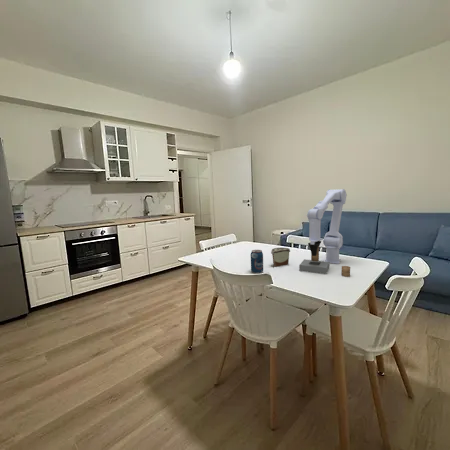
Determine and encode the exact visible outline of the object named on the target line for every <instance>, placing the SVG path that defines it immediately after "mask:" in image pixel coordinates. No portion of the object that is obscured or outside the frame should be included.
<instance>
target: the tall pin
mask: <svg viewBox="0 0 450 450" xmlns="http://www.w3.org/2000/svg"><path fill="white" fill-rule="evenodd" d="M310 254H311V253H310ZM319 255H320V246H318V249H317V254H316V256H312V254H311V255H310V256H311V257H310V258H311V259H310V260H311V261H320V256H319Z"/></svg>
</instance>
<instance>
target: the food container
mask: <svg viewBox="0 0 450 450" xmlns="http://www.w3.org/2000/svg"><path fill="white" fill-rule="evenodd" d="M290 252H291V250H290V248H289V247H274V248H272V249H271V251H270V254H272V255H271V256H272V264H273V267H274V268H279V267H285V266H289V264H290V263H289V260H290Z"/></svg>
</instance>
